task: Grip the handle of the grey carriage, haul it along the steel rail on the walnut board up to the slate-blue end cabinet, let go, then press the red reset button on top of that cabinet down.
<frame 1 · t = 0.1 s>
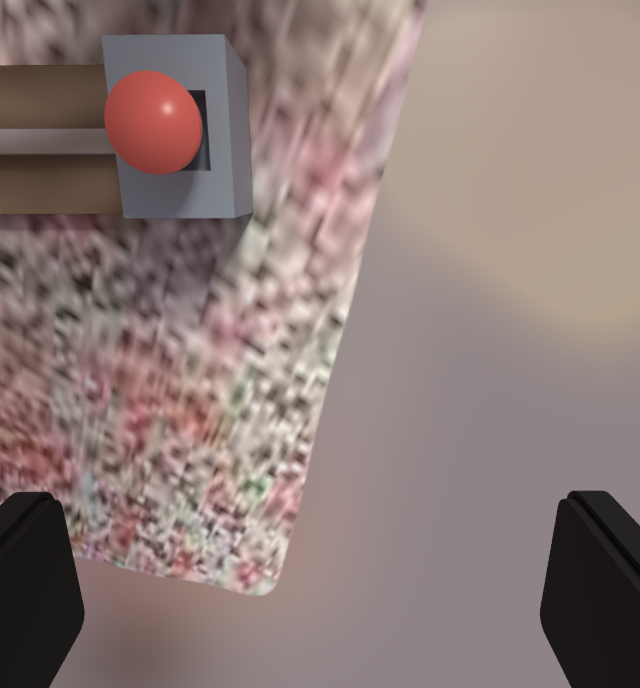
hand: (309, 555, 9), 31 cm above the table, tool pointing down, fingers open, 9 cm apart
reset button: (163, 128, 27), point 9 cm above the table, slide at 0.0 cm
end cabinet: (204, 144, 36), on the table
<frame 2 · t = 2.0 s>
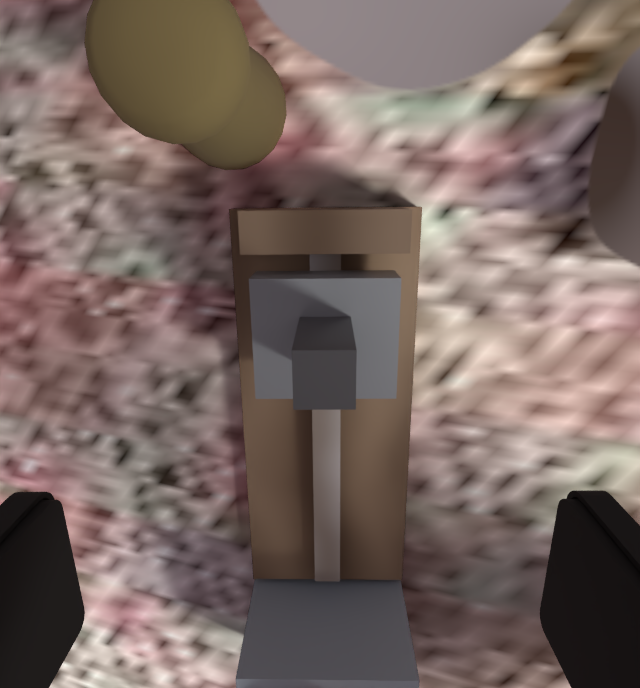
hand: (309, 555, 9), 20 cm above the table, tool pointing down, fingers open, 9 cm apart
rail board: (326, 407, 29), on the table
carriage: (325, 346, 22), point 6 cm above the table, slide at 0.0 cm
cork: (229, 108, 25), on the table
end cabinet: (327, 607, 34), on the table
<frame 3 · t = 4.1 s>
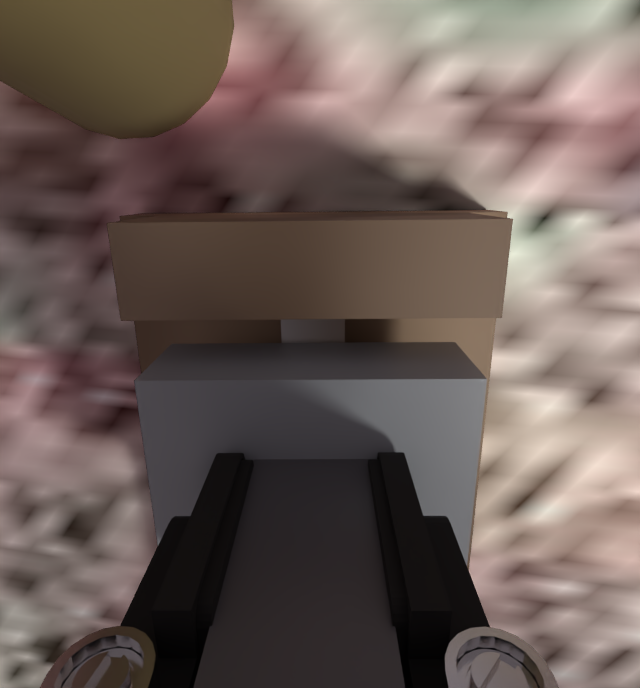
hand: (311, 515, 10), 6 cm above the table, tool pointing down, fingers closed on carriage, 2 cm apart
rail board: (318, 551, 17), on the table
carriage: (310, 532, 9), point 6 cm above the table, slide at 0.0 cm, touching gripper
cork: (119, 14, 12), on the table
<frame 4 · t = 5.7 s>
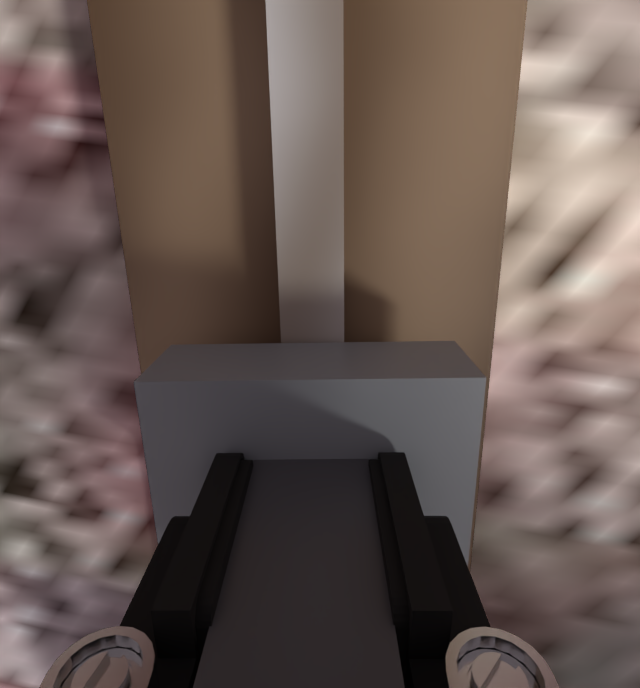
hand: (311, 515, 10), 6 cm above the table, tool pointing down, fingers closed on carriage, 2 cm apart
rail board: (315, 338, 15), on the table
carriage: (311, 532, 9), point 6 cm above the table, slide at 8.2 cm, touching gripper
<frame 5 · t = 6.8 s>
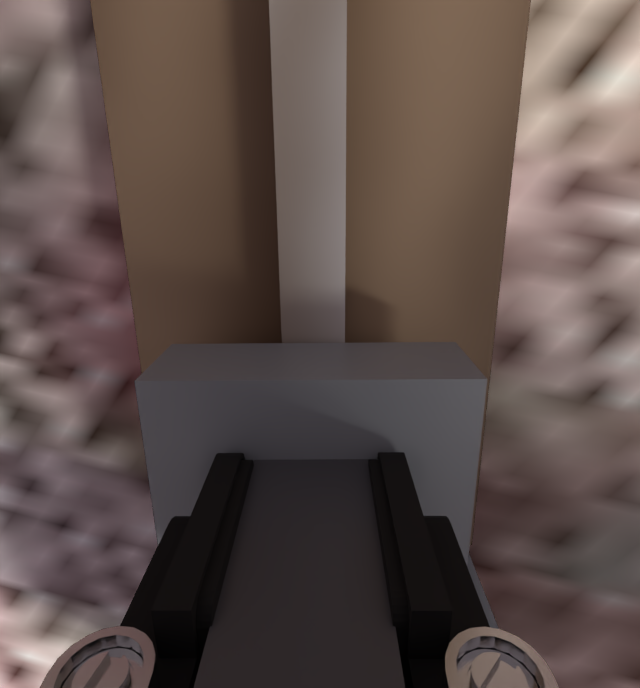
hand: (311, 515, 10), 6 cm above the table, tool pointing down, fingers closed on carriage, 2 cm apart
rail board: (313, 152, 13), on the table
carriage: (311, 533, 9), point 6 cm above the table, slide at 13.6 cm, touching gripper
end cabinet: (319, 602, 18), on the table
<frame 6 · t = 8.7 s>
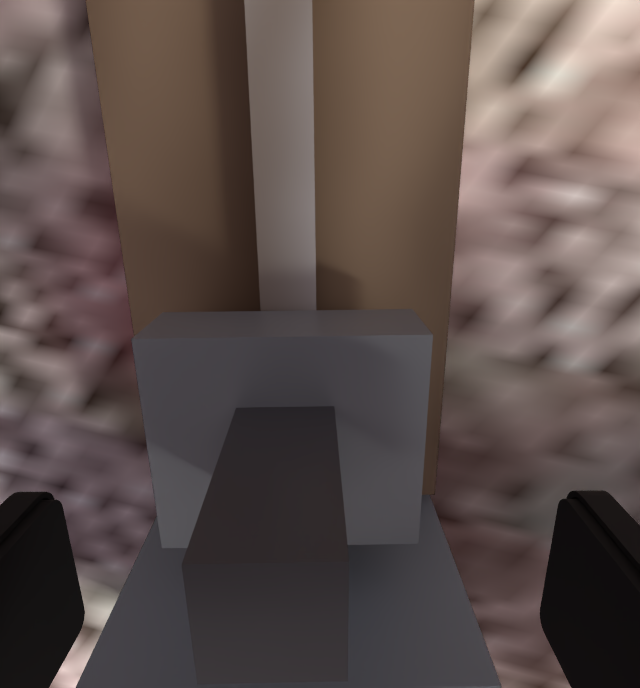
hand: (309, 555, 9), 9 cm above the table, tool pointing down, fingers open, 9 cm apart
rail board: (287, 139, 14), on the table
carriage: (285, 467, 11), point 6 cm above the table, slide at 13.7 cm
end cabinet: (300, 554, 20), on the table
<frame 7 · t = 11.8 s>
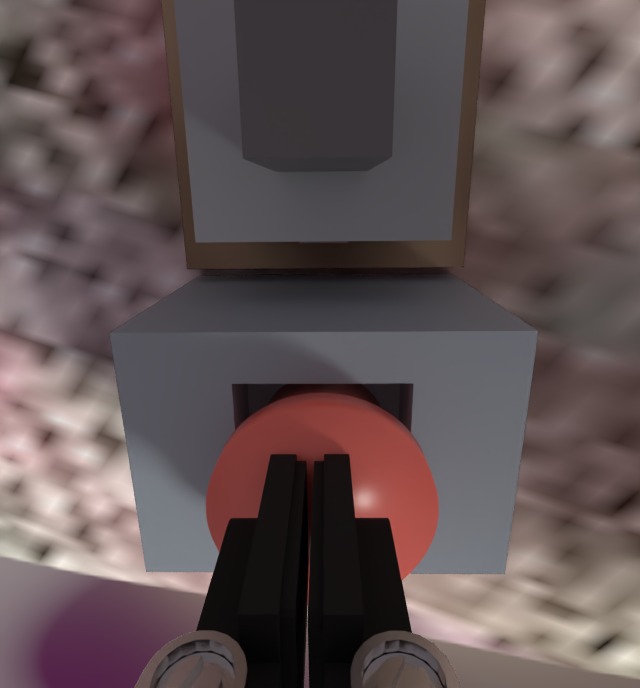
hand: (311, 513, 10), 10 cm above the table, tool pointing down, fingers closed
carriage: (321, 116, 11), point 6 cm above the table, slide at 13.7 cm
reset button: (322, 465, 12), point 8 cm above the table, slide at 1.3 cm, touching gripper
end cabinet: (325, 358, 20), on the table
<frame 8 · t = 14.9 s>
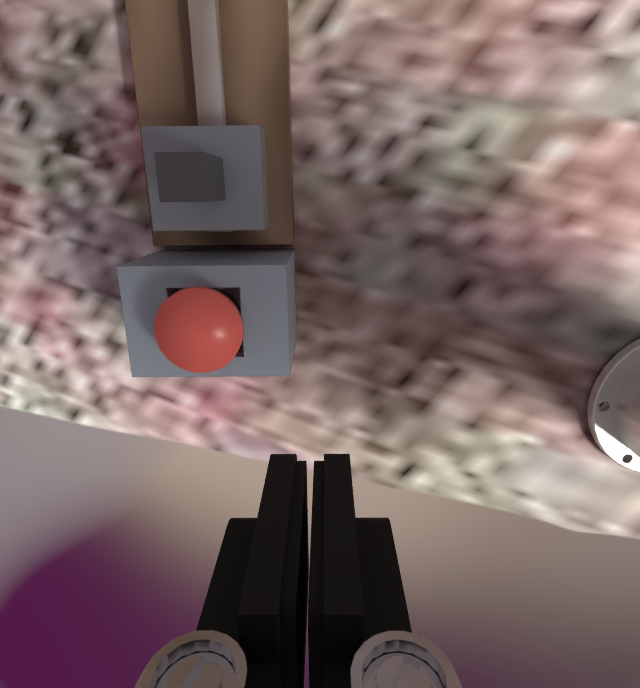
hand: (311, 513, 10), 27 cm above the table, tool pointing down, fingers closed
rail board: (214, 59, 31), on the table
carriage: (201, 179, 28), point 6 cm above the table, slide at 13.7 cm
reset button: (205, 323, 29), point 8 cm above the table, slide at 1.4 cm
end cabinet: (231, 295, 36), on the table
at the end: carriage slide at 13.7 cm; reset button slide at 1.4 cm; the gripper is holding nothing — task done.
